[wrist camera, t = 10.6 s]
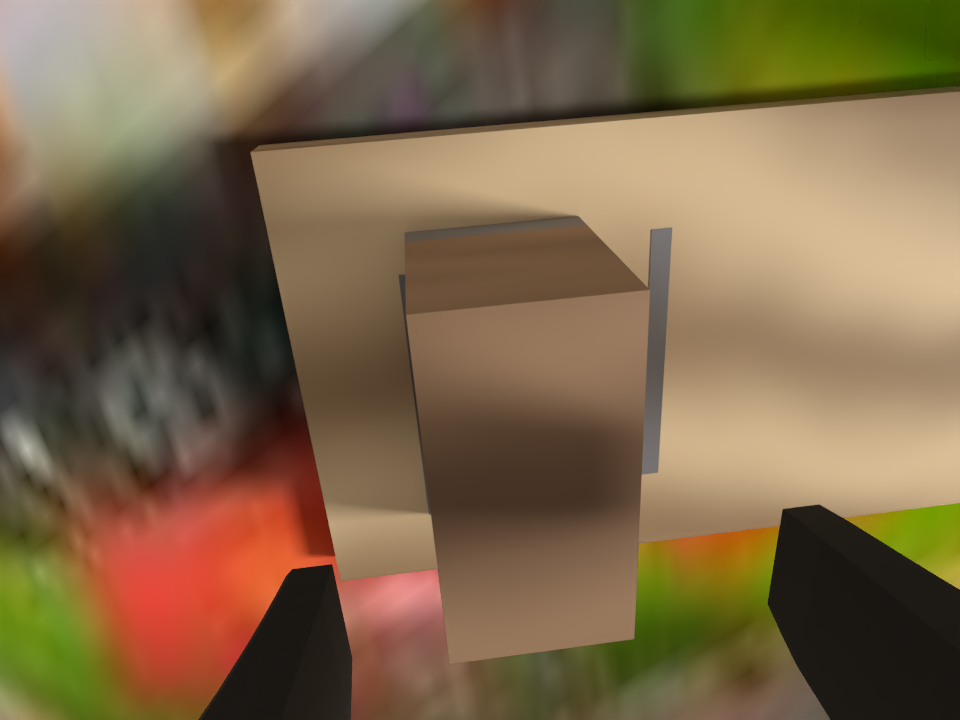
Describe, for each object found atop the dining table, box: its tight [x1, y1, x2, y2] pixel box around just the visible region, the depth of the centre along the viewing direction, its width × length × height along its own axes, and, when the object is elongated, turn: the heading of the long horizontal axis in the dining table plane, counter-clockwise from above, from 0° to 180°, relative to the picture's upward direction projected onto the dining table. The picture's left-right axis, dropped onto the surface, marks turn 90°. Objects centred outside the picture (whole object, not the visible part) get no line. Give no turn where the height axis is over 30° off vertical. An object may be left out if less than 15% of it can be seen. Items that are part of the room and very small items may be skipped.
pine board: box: [251, 86, 960, 581], centre depth 18 cm, size 12×20×1 cm, turn 94°
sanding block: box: [405, 216, 650, 664], centre depth 15 cm, size 8×4×5 cm, turn 4°
